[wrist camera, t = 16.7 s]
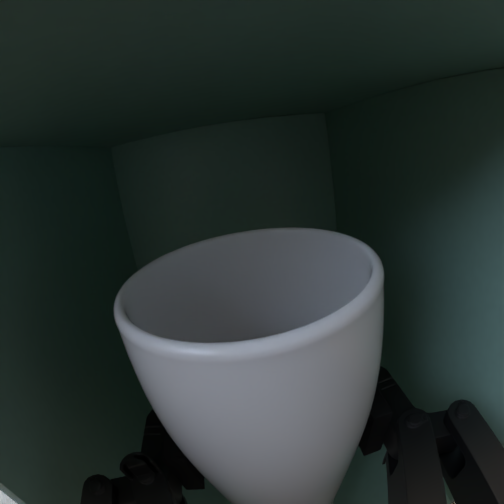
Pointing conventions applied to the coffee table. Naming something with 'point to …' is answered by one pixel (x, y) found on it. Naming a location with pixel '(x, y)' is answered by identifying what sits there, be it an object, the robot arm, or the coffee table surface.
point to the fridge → (239, 195)
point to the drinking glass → (260, 356)
